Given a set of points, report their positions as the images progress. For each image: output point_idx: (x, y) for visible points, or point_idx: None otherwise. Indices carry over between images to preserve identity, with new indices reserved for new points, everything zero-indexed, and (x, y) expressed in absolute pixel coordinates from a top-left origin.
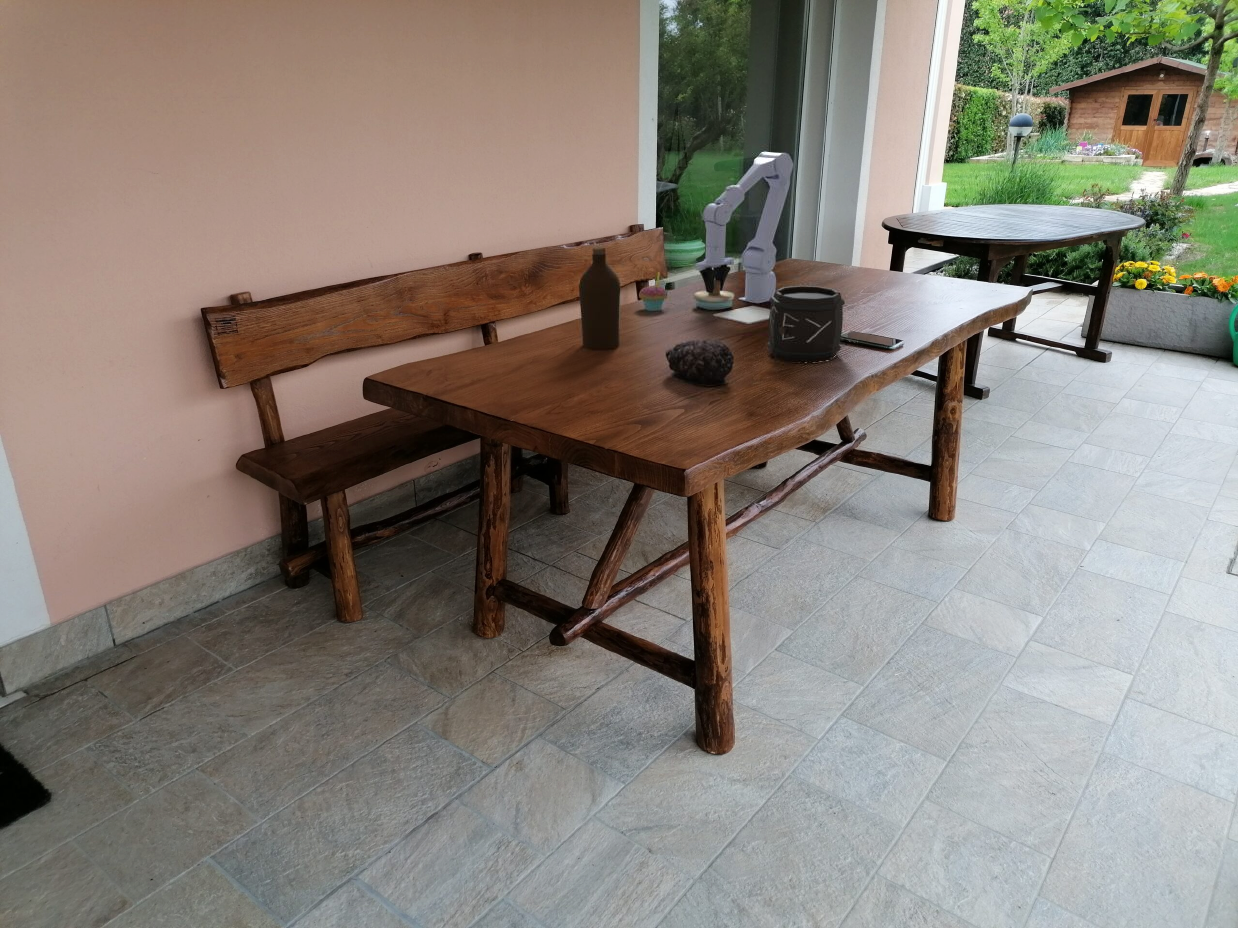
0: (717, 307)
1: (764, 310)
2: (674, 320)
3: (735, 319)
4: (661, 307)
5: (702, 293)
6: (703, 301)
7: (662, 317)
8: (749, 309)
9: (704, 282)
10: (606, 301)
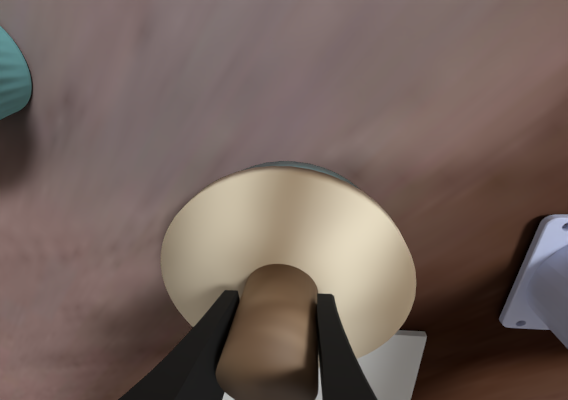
0: None
1: (384, 390)
2: (45, 278)
3: None
4: (20, 104)
5: (239, 231)
6: None
7: (10, 224)
8: (358, 358)
9: (177, 348)
10: None
